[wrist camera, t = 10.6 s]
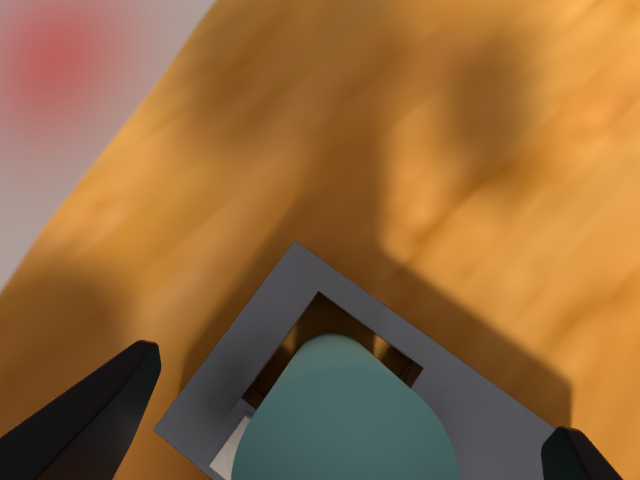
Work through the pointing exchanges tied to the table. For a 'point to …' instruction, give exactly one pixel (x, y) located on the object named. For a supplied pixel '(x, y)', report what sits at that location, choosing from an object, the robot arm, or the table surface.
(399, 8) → the table surface
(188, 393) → the flange plate
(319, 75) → the table surface
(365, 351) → the peg
